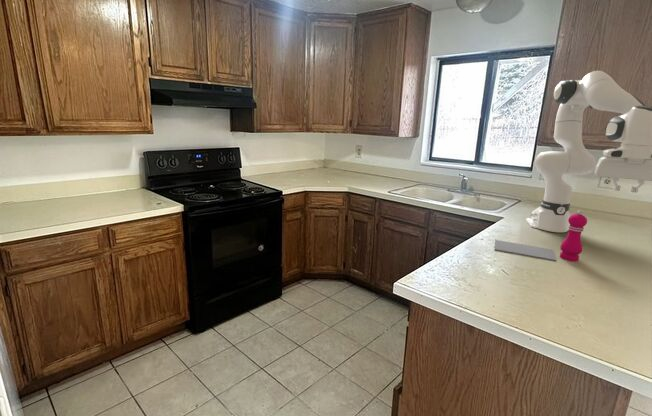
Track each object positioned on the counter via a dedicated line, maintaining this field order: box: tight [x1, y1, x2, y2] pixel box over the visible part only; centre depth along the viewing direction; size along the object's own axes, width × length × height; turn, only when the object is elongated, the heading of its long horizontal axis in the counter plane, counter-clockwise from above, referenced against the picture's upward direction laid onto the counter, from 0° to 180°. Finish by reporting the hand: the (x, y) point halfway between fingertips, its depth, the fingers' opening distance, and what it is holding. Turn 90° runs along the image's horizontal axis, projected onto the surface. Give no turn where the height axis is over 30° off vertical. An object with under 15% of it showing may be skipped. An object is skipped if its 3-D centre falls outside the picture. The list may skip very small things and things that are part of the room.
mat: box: [494, 239, 557, 262], centre depth 147 cm, size 22×13×1 cm, turn 64°
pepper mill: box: [559, 210, 588, 263], centre depth 138 cm, size 7×7×20 cm
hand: (625, 191), depth 128 cm, fingers open, 4 cm apart
